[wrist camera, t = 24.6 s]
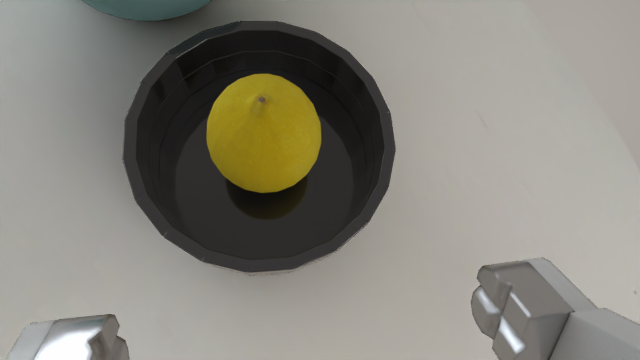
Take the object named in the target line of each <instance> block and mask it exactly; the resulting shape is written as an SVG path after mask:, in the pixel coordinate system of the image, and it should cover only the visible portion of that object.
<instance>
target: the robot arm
mask: <svg viewBox="0 0 640 360" xmlns="http://www.w3.org/2000/svg"><path fill="white" fill-rule="evenodd" d="M477 280H478V281H479V282H480V284H481V285H480V286H479V287H478V288H477V289H476V290H475V291H474V292H473V295H472V300H471V307H472V314H473V317H474V319H475V322H476V324H477V325H478V327H479V329H480V330H481V332H482V333H484V334H485V335H487V336H488V337H490V338H492V339H493V345H492V349H493V351H494V352H495V354H496V356H497V357H498V359H499V360H640V324H638V323H636V322H634V321H632V320H629V319H627V318H625V317H623V316H621V315H619V314H617V313H615V312H613V311H610V310H608V309H606V308H599V309H598V308H597V307H596V306H595V305H594V304H593V303H592V302H591V301H590V300H589V299H588V298H587V297H586V296H585V295H584V294H583V293H582V292H581V291H580V290H579V289H578V288H577V287H576V286H575V285H574V284H573V283H572V282H571V281H570V280H569V279H568V278H567V277H566V276H565V275H564V274H563V273H562V272H561V271H560V270H559V269H558V268H557V267H556V266H555V265H554V264H552V263H551V262H550V261H549V260H547V259H545V258H543V257H542V258H535V259H528V260H522V261H513V262H506V263H499V264H492V265H485V266H482V267H481V268H480V270H479V272H478V275H477ZM119 326H120V325H119V323H118V321H117V319H116V316H115V315H112V314H106V315H96V316H87V317H77V318H68V319H59V320H53V321H43V322H34V323H31V324H29V325H28V326H27V327H25V328H24V329H23V331H22V332H21V334H20V336H19V337H18V339H17V341H16V342H15V344H14V346H13V347H12V349H11V350H10V352H9V354H8V355H7V357H6V359H5V360H130V358H129V351H128V347H127V344H126V341H125V340H124V339H122V338H121V337H119V336H117V333H118V330H119Z"/></svg>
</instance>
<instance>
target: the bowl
mask: <svg viewBox="0 0 640 360" xmlns="http://www.w3.org/2000/svg"><path fill="white" fill-rule="evenodd" d="M82 1H84V2H85V3H87V4H88V5H90V6H92V7H94V8H96V9H98V10H100V11H102V12H105V13H107V14H110V15H113V16H117V17H120V18H125V19H131V20H140V21H154V20H165V19H170V18H175V17H178V16H182V15H185V14H188V13H190V12H193V11H195V10H197V9H199V8H201V7H203V6H204V5H206V4H207V3H209V2H210V1H211V0H82Z"/></svg>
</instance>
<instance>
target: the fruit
mask: <svg viewBox="0 0 640 360" xmlns="http://www.w3.org/2000/svg"><path fill="white" fill-rule="evenodd" d="M206 138H207V146H208V149H209V152H210V156H211V159H212V161H213V162H214V164H215V165H216V166H217V168H218V169H219V171H220V172H221V173H222V175H223V176H224V177H226V178H227V179H228V180H230V181H231V182H232V183H234V184H235V185H237V186H239V187H241V188H243V189H245V190H249V191H254V192H259V193H268V192H278V191H281V190H283V189H286V188H288V187H291V186H293V185H295V184H296V183H297V182H298V181H300V180H301V179H302V178H303V177H305V176H306V175H307V173H308V172H309V171H310V169H311V168H312V166H313V165H314V163H315V162H316V160H317V157H318V153H319V150H320V146H321V123H320V121H319V118H318V116H317V113H316V110H315V108H314V105H313V104H312V102H311V101H310V100H309V98H308V97H307V96H306V95H305V93H304V92H303V91H302V90H301V89H300V88H299V87H297V86H296V85H294V84H293V83H291V82H289V81H288V80H286V79H284V78H282V77H280V76H276V75H271V74H254V75H250V76H247V77H244V78H241V79H238V80H237V81H235V82H234V83H232V84H231V85H229V86H228V87H226V89H225V90H224V91H223V92H222V93H221V95H220V96H219V97H218V98H217V99H216V101H215V102H214V104H213V107H212V110H211V112H210V115H209V117H208V121H207V137H206Z"/></svg>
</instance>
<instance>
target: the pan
mask: <svg viewBox="0 0 640 360" xmlns="http://www.w3.org/2000/svg"><path fill="white" fill-rule="evenodd" d="M254 74H271V75H276V76H280V77H282V78H284V79H286V80H288V81H289V82H291V83H293V84H294V85H296V86H297V87H299V88H300V89H301V90H302V91H303V92H304V93H305V95H306V96H307V97H308V98H309V100H310V101H311V102H312V104H313V105H314V108H315V110H316V113H317V116H318V118H319V121H320V123H321V146H320V150H319V153H318V157H317V160H316V162H315V163H314V165H313V166H312V168H311V169H310V171H309V172H308V173H307V175H306V176H305V177H303V178H302V179H301V180H300V181H298V182H297V183H296V184H295V185H293V186H291V187H288V188H286V189H283V190H281V191H278V192H268V193H259V192H254V191H249V190H245V189H243V188H241V187H239V186H237V185H235V184H234V183H232V182H231V181H230V180H228V179H227V178H226V177H224V176H223V175H222V173H221V172H220V171H219V169H218V168H217V166H216V165H215V164H214V162H213V161H212V159H211V156H210V152H209V149H208V146H207V138H206V137H207V121H208V117H209V115H210V112H211V110H212V107H213V104H214V102H215V101H216V99H217V98H218V97H219V96H220V95H221V93H222V92H223V91H224V90H225V89H226V87H228V86H229V85H231V84H232V83H234V82H235V81H237V80H238V79H241V78H244V77H247V76H250V75H254ZM395 149H396V148H395V141H394V134H393V127H392V120H391V113H390V111H389V109H388V107H387V105H386V103H385V101H384V98H383V96H382V94H381V92H380V90H379V88H378V86H377V84H376V82H375V80H374V79H373V77H372V76H371V75H370V74H369V73H368V72H367V71H366V70H365V69H364V67H363V66H362V65H361V64H360V63H359V62H358V61H357V60H356V59H355V58H354V57H353V56H352V55H351V54H350V52H348V51H347V50H346V49H344V48H342V47H341V46H339V45H337V44H336V43H334V42H332V41H331V40H329V39H327V38H326V37H324V36H322V35H321V34H319V33H317V32H315V31H312V30H308V29H304V28H301V27H297V26H294V25H290V24H286V23H283V22H278V21H240V22H239V21H238V22H234V23H230V24H226V25H223V26H219V27H215V28H211V29H208V30H204V31H202V32H199V33H198V34H196V35H194V36H193V37H191V38H189V39H188V40H186V41H184V42H183V43H181V44H179V45H178V46H176V47H174V48H173V49H171V50H169V51H168V52H167V53H166V54H165V55H164V56H163V57H162V58H161V59H160V61H159V62H158V63H157V64H156V65H155V66H154V67H153V68H152V70H151V71H150V72H149V73H148V74H147V75H146V76H145V77H144V79H143V80H142V81H141V82H140V84H139V87H138V89H137V91H136V94H135V96H134V99H133V101H132V103H131V106H130V108H129V110H128V113H127V115H126V117H125V124H124V142H123V163H124V167H125V170H126V173H127V176H128V179H129V183H130V186H131V189H132V192H133V195H134V199H135V201H136V203H137V204H138V205H139V207H140V208H141V209H142V211H143V212H144V213H145V214H146V216H147V217H148V218H149V220H150V221H151V222H152V223H153V225H154V226H155V227H156V229H157V230H158V231H159V233H160V234H161V235H162V236H164V238H165V239H167V240H169V241H170V242H172V243H173V244H175V245H176V246H178V247H179V248H181V249H183V250H184V251H186V252H187V253H189V254H190V255H192V256H194V257H195V258H197V259H198V260H200V261H202V262H204V263H207V264H209V265H211V266H214V267H217V268H221V269H225V270H229V271H233V272H237V273H241V274H245V275H250V276H259V275H274V274H284V273H290V272H294V271H296V270H299V269H301V268H304V267H306V266H309V265H311V264H313V263H315V262H318V261H320V260H323V259H325V258H326V257H328V256H330V255H331V254H333V253H335V252H336V251H338V250H339V249H340V248H341V247H342V246H343V245H344V244H346V243H347V242H348V241H349V240H350V239H351V238H352V237H354V236H355V235H356V234H357V233H358V232H359V231H360V230H361V229H363V228H364V227H365V226H366V225H367V224H368V223H369V221H370V220H371V218H372V216H373V214H374V213H375V211H376V209H377V207H378V206H379V204H380V202H381V200H382V199H383V197H384V195H385V193H386V192H387V190H388V187H389V183H390V177H391V172H392V167H393V161H394V156H395Z"/></svg>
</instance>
